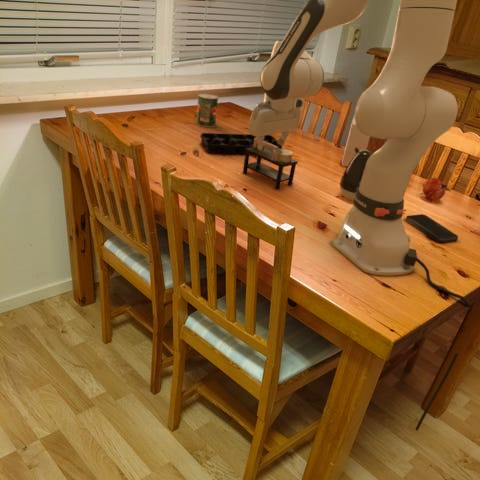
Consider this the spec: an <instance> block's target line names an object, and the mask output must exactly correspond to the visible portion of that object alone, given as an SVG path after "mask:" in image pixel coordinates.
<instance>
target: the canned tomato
mask: <svg viewBox="0 0 480 480" xmlns="http://www.w3.org/2000/svg"><path fill="white" fill-rule="evenodd" d="M197 96H198V99H197V110H196V111H197V112H196V123H195V124H196V125H197V126H199V127H203V128H214V127H216V123H217V113H218V103H219V102H218V101H219V96H218V95H216V94H212V93H204V92H202V93H198V95H197Z"/></svg>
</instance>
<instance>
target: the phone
mask: <svg viewBox="0 0 480 480" xmlns="http://www.w3.org/2000/svg"><path fill="white" fill-rule="evenodd" d="M405 222H407V223H408V224H410V225H411V226H413V227H414V228H416V229H417V230H418V231H420V232H421V233H423V234H424V235H426V236H427V237H429V238H430V239H432V241H434V242H436V243H438V244H445V243H451V242H456V241H457V242H458V239H459V236H458V235H457V234H456V233H454V232H453V231H452V230H449V229H448V228H447V227H446V226H443V225H442V224H441V223H439V222H437V221H436V220H434V219H433V218H431V217H430V216H428V215H427V214H423V213H421V214H412V215H411V214H410V215H406V217H405Z"/></svg>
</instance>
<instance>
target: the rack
mask: <svg viewBox="0 0 480 480" xmlns="http://www.w3.org/2000/svg"><path fill="white" fill-rule="evenodd" d="M245 151H246V153H245V155H244V160H243V168H242V169H243V170H242V173H243V174H244V175H246V174H248V170H251V171H252V172H255V173H257V174H259V175H261V176H263V177H265V178H267V179H269V180H272V181H274V182H275V186H274V189H275V190H280V188H281V183H284V182H287V186H289V187H292V186H293V182H294V176H295V171H296V166H297V165H298V160H296V159H293V158H292V160H291V162H289V163H281V162H277V161H275V160H273V159H272V156H273V150H270V149H268V148H266V147H265V149H263V150H259V149H255V148H253V147H250V148H245ZM250 155H253V156H255V157H256V161H254V162H253V161H252V162H250V163H249V161H250ZM262 160H263V161H266V162H269V163H271V164H273V165H275V166H277V167H278V169H277V168H274V167H272V166H270V165H269V164H266V163H264V162H262ZM286 167H290V170H289V172H290V173H289V174H287V173H286V172H283V171H284V168H286Z"/></svg>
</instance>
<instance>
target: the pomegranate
mask: <svg viewBox="0 0 480 480" xmlns="http://www.w3.org/2000/svg"><path fill="white" fill-rule="evenodd" d="M446 188H448V185H447V184H445V182H444V181H442V180H441V179H439V178H437V177H431V178H428V179H426V180H425V181H424V183H423V184H422V193H421V195H424V198H425V199H426V201H429V202H434V201H439V200H441V199H442V198H444V197H445V194H446Z"/></svg>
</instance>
